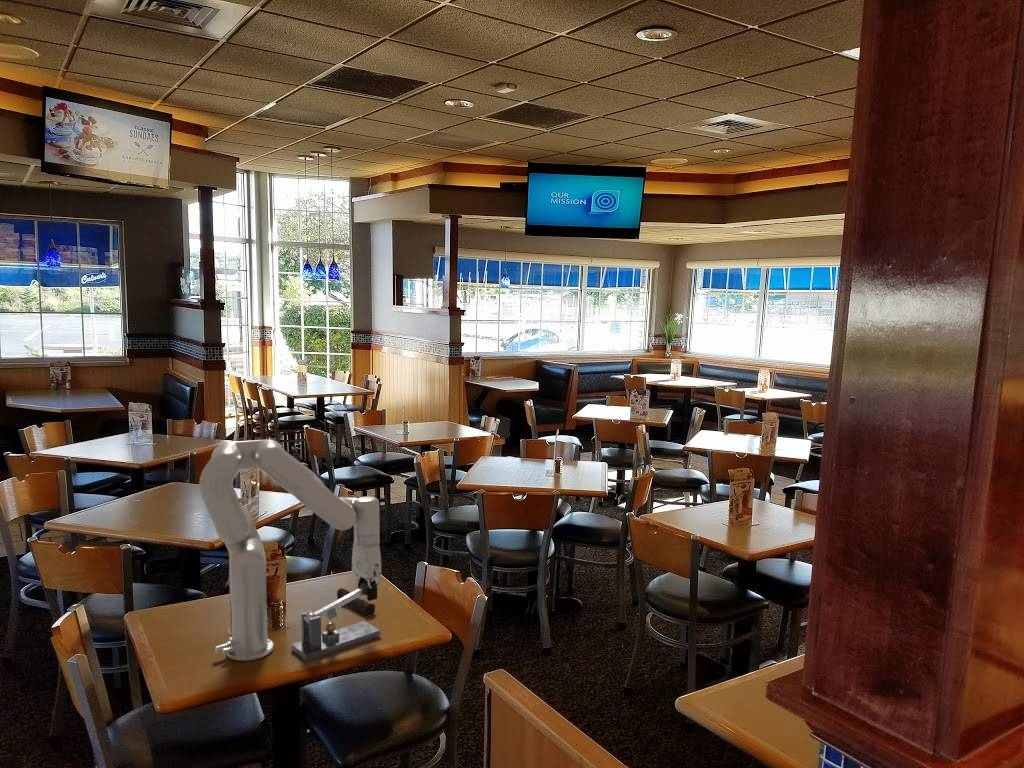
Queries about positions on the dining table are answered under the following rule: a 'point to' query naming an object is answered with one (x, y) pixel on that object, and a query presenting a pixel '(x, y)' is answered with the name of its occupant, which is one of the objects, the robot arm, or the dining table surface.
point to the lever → (337, 604)
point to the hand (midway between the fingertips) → (367, 596)
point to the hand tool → (357, 603)
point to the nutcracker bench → (325, 648)
